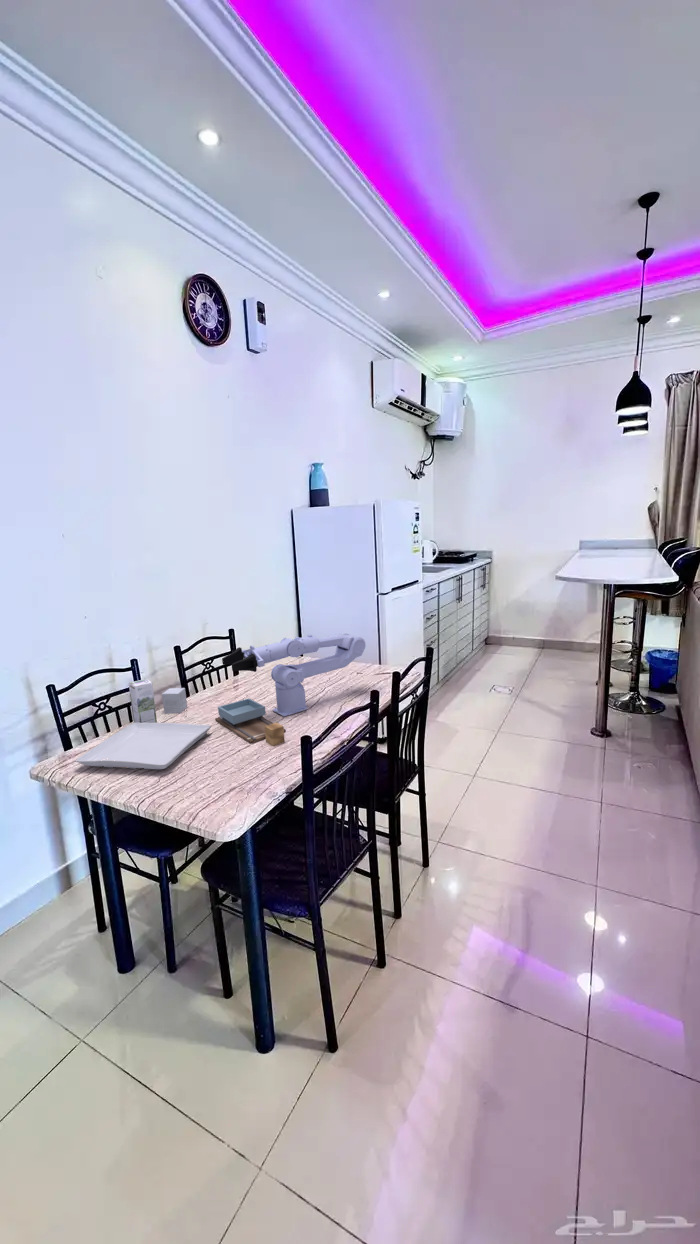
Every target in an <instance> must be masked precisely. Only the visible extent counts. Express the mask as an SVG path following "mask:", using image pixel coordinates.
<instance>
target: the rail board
mask: <svg viewBox="0 0 700 1244" xmlns="http://www.w3.org/2000/svg"><path fill="white" fill-rule="evenodd" d="M214 720H215V722H217V723H218V724H219V725H220V726H222V727H224V728H225V729H227V730H229V731H230V732H232V733H233V734H235V735H236V736H238V737H239V738H241V739H242V740H244V741H245V742H247V743H249V744H250V745H252V744H255V743H257V742H260V741H263V740H266V736H265V726H267V725H270V724H273V723H274V722H272V721H271V720H270V719H267V718H265V717H264V716H263V717H261V718H258V717H257V718H253V719H250V720H247V721H243V722H240V723H237V725H235V726H233V724H232V723H231V722H229V721H228V720H226V719H223V718H222V717H221V716H220V715H218V716H217V717H216V718H214ZM286 732H287V731H286V729H285V728H284V734H285V733H286Z"/></svg>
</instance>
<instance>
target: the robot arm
mask: <svg viewBox="0 0 700 1244" xmlns="http://www.w3.org/2000/svg"><path fill="white" fill-rule="evenodd" d="M294 637H295V638H293V639H292V638H290V637H288V638H287V637H283V639H281V640H280V641H279V642H273V643H270V644H265V645H263V646H258V647H255V646H254V645H249V648H247V649H242V647H237V648H236V649H235V650H234V651H233V652H231V653H230V654H228V655H224V657H222V658H221V661H222V665H223V666H227V665H231V670H232V671H233V672H241V671H242V672H246V671H247V672H248V671H249V672H254V673H256V672H257V670H258V669H257V667H258V668H262V667H266V665H265V664H269V663H272V662H276V661H279V660H282V659H286V658H288V657H290V658H295V659H296V658H300V656H301V655H306V654H313V653H317V652H318V651H319V650H320V649H322V648H329V647H336V648H335V652H334V654H333V655H329V656H326V657H323V658H318V659H314V660H310V661H306V662H303V663H298V664H282V663H279V664H276V665H275V666H274V667H273V668H272V669H271V672H270V673H271V674H270V677H271V679H272V681H274V683H275V684H274V687H275V696H276V698H275V699H276V708H273V709H272V711H273V712H274V713H276V714H279V715H281V716H282V717H287V716H290V715H293V714H296V713H300V712H303V711H306V710H308V707H307V702H306V690H305V688H304V687H305V686H304V685H303V684H302V683H303V682H304V680H305V679H306V678H311V677H314V676H318V675H322V674H325V673H329V672H332V671H335V670H337V671H338V670H340V669H343V668H346V667H348V666H350V664H351V663H352V662H353V661H354V660H355V659H357V658H360V657H362V656H363V654H364V651H365V649H366V641H365V639H364V638H363V637H361V636H356V635H351V634H348V633H343V634H342V633H339V634H334V635H328V636H324V637H319V638H318V637H317V636H315V635H313V634H307V636H302V637H299V636H294Z"/></svg>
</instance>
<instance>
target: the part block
mask: <svg viewBox="0 0 700 1244" xmlns="http://www.w3.org/2000/svg"><path fill="white" fill-rule="evenodd" d="M284 729H285V727H284V725H282V724H281V723H278V722H273V724H270V725H267V726H265V736H266V739H265V743H266V744H268V745H270V746H272V747H275V746H278V745H280V744H283V743H285V742H286V741H285V740H286V739H285V733H284Z"/></svg>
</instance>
